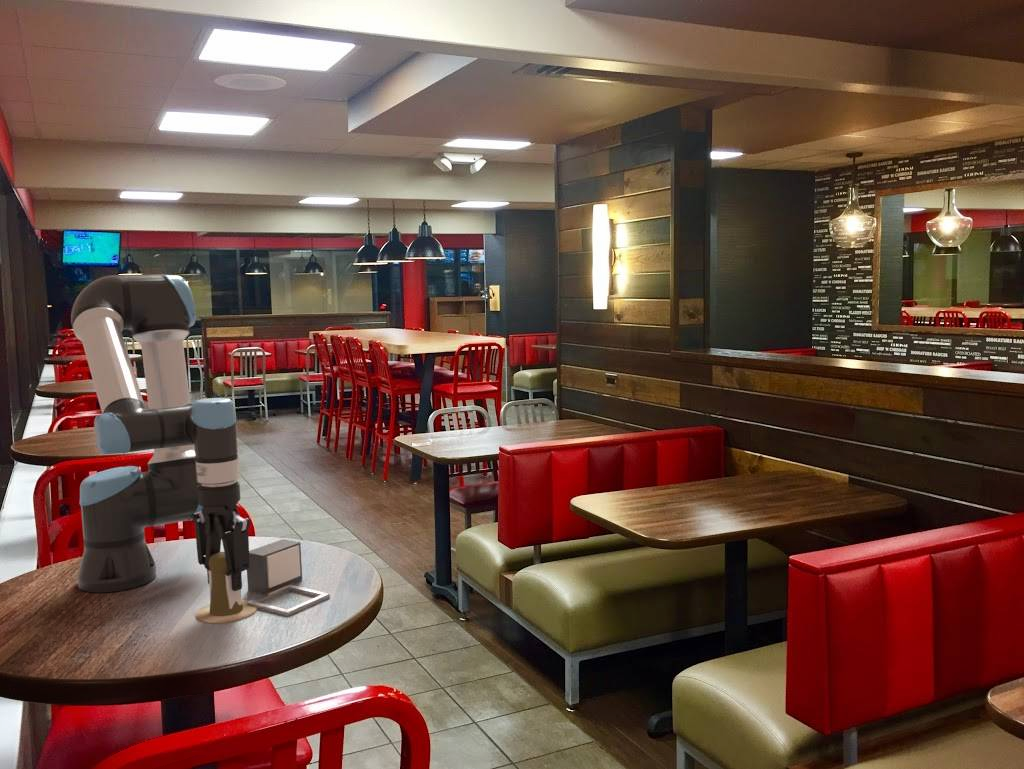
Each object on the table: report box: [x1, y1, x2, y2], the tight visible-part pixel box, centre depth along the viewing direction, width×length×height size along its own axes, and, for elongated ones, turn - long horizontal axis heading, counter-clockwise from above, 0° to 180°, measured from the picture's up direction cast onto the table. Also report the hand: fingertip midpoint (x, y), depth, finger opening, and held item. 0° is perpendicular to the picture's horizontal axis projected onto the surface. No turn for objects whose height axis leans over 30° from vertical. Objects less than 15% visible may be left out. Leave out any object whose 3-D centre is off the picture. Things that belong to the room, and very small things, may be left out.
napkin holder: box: [246, 538, 303, 595], centre depth 180 cm, size 5×10×8 cm, turn 148°
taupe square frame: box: [247, 584, 331, 617], centre depth 171 cm, size 11×11×1 cm
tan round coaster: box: [195, 599, 258, 624], centre depth 166 cm, size 11×11×1 cm
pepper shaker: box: [209, 551, 243, 616], centre depth 166 cm, size 6×6×11 cm
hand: (226, 603), depth 166 cm, fingers closed on pepper shaker, 4 cm apart
